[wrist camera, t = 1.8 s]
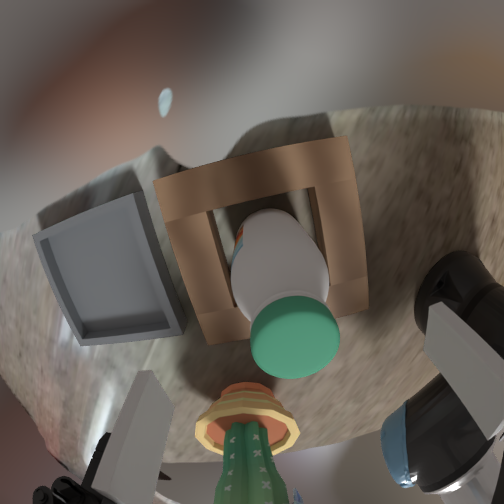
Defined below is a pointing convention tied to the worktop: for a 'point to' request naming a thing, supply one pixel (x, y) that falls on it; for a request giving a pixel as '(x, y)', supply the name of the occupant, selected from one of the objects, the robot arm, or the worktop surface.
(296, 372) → the milk bottle
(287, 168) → the block
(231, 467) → the potted cactus
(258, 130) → the worktop surface
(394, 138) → the worktop surface
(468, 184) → the worktop surface
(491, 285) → the robot arm
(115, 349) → the worktop surface
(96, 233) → the tray
